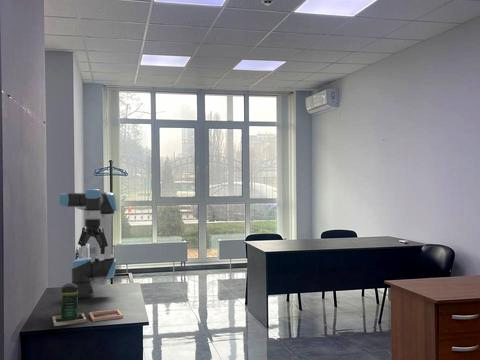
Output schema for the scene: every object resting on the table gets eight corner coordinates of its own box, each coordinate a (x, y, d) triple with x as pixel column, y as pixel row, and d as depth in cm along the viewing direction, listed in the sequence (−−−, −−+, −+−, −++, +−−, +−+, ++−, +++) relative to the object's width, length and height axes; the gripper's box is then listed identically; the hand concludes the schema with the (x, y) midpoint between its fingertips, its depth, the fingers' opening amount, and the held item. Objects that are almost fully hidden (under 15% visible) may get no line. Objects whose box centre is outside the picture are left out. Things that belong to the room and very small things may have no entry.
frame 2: (89, 315, 243) (89, 312, 243) (118, 312, 250) (118, 309, 250) (92, 321, 232) (92, 318, 232) (122, 318, 238) (122, 315, 238)
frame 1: (52, 319, 236) (52, 316, 236) (83, 315, 242) (83, 313, 242) (54, 326, 224) (54, 322, 224) (86, 322, 230) (86, 319, 230)
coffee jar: (77, 322, 230) (77, 285, 230) (60, 324, 227) (60, 286, 228) (77, 317, 239) (78, 281, 239) (61, 319, 236) (61, 282, 237)
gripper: (71, 218, 245) (70, 258, 244) (103, 219, 232) (103, 262, 231) (82, 217, 251) (82, 256, 251) (115, 219, 238) (114, 260, 237)
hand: (92, 259), depth 241 cm, fingers open, 13 cm apart
